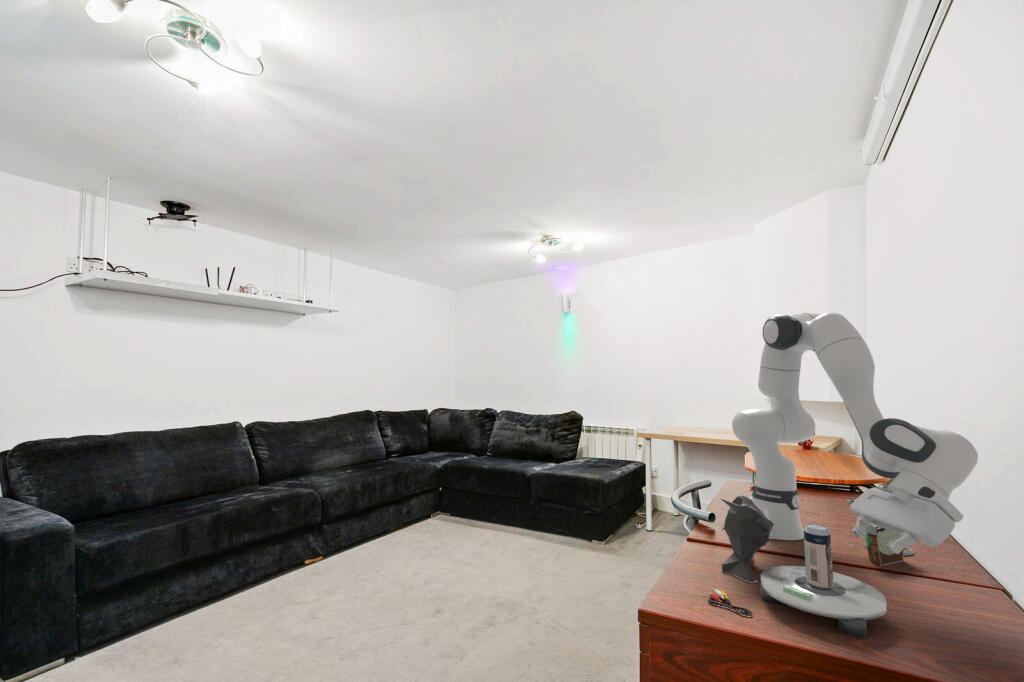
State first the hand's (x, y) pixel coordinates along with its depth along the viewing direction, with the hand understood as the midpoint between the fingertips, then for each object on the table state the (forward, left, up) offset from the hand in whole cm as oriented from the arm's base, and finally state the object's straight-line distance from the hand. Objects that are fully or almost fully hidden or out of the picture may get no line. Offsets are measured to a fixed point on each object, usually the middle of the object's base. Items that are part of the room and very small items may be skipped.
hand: (873, 542), depth 99 cm
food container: (-12, +33, -14) cm, 37 cm away
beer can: (-6, -10, -9) cm, 15 cm away
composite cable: (-16, -27, -14) cm, 35 cm away
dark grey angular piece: (-27, -3, -14) cm, 30 cm away
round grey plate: (-6, -10, -13) cm, 18 cm away
